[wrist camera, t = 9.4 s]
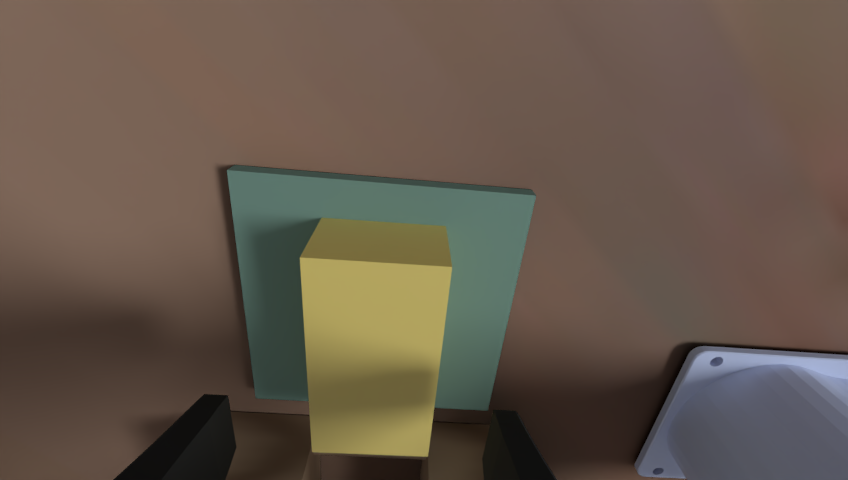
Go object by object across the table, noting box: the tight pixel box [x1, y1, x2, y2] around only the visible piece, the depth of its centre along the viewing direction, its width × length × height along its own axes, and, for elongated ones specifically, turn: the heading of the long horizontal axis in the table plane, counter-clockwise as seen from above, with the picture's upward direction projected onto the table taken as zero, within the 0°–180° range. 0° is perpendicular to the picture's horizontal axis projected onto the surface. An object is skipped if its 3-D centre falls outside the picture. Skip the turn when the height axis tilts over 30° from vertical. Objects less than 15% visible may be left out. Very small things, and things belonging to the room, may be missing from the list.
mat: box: [227, 165, 536, 411], centre depth 15 cm, size 10×10×1 cm
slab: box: [300, 218, 452, 457], centre depth 14 cm, size 4×8×3 cm, turn 175°
